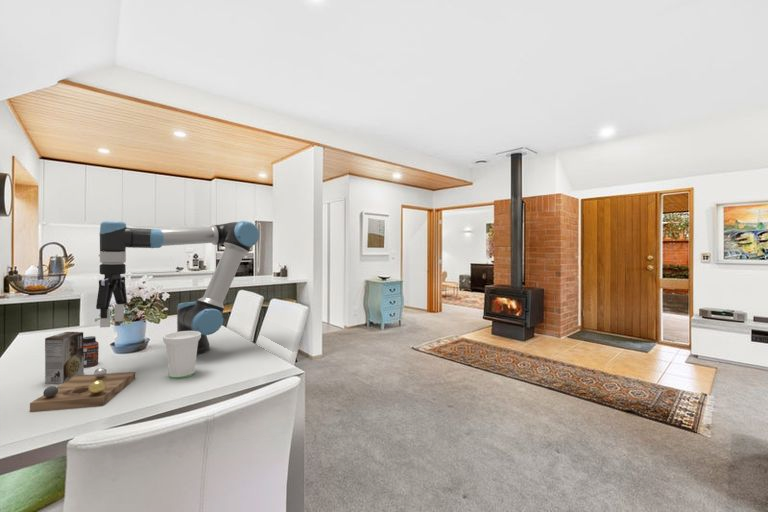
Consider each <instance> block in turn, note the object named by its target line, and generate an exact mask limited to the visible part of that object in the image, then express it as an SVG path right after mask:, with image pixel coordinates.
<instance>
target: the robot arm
mask: <svg viewBox="0 0 768 512" xmlns="http://www.w3.org/2000/svg"><path fill="white" fill-rule="evenodd" d="M99 228H100V229H99V233H98V234H99V254H98V257H99V262H100V263H101V264H100V265H99V274H100V275H104V277H103V279H99V280H98V290H97V291H98V293H97V296H96V297H97V298H96V305H95V306H96V310H99V328H111V308H110V304H111V301H112V296H113V297H114V301H115V304H114V322H124V321H125V320H124V319H125V311H124V310H125V309H124V308H125V305H127V304H128V298H127V297H128V296H127V289H126V277H125V276H122V275H124V274H126V269H127V268H126V267H127V266H126V264H125V263H126V261H127V252H126V250H127V248H132V249H139V248H141V249H159V248H162V247H165V246H166V247H167V246H181V245H183V246H184V245H200V244H201V245H203V244H212V245H214V246H217V245H222V246H224V249H223V253H222V254H221V256H220V258H219V262H218V263H217V266H216V268H215V270H214V272H213V274H212V277H211V278H210V281H209V283H208V286H207V287H206V289H205V292H204V294H203V296H202V297H200V298H197V301H188V302H187V301H186V302H181V303H180V302H179V303H178V304H177V309H176V312H177V313H176V314H177V315H176V318H177V319H176V320H177V321H176V322H177V323H176V326H177V327H176V328H177V329H176V330H177V331H176V332H181V331H198V332H200V333H201V338H200V339H199V341H198V347H197V355H199V354H203V353H206V352H209V350H210V349H211V348H210V347H211V346H210V341H209V338H208V336H209V335H212V334H215V333H216V332H218V331H219V330H220V329H221V327H222V326H223V322H224V317H223V312H224V311H225V306H224V301H225V299H226V297H227V294H228V293H229V289H230V288H231V286H232V283H233V281H234V278H235V276H236V274H237V271H238V269H239V267H240V264H241V262H242V261H243V257H244V256H245V255H247V254H249V253H250V251H251V248H252V246H255V245H256V244H258V242H259V239H260V231H259V229H258V227H257V226H256V225H255V224H254V223H253V222H251V221H247V220H243V221H242V220H241V221H237V222H236V221H233V222H227V223H222V224H212V225H211V226H208V227H207V226H206V227H205V226H204V227H202V226H200V227H178V228H177V227H175V228H172V227H171V228H138V227H136V228H135V227H128V226H127V223H126V222H124V221H115V220H114V221H111V220H110V221H109V220H106V221H102V222H101V223H100V227H99Z"/></svg>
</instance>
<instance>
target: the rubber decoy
mask: <svg viewBox="0 0 768 512" xmlns="http://www.w3.org/2000/svg"><path fill="white" fill-rule="evenodd" d="M57 387H58V386H54V385H50V386H47V387H46V388H45V389H44V390H43V395H44V396H45V397H53V396H55V395H56V394H57V393H58V388H57Z"/></svg>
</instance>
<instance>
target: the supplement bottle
mask: <svg viewBox="0 0 768 512" xmlns="http://www.w3.org/2000/svg"><path fill="white" fill-rule="evenodd" d="M96 339H97V337H96V336H93V335H91V336H83V349H84V350H83V351H84V368H89V367H94V366H96V365H98V364H99V348H100V347H99V345H100V344H99V342H98V341H97V340H96Z"/></svg>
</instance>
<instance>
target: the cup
mask: <svg viewBox="0 0 768 512" xmlns="http://www.w3.org/2000/svg"><path fill="white" fill-rule="evenodd" d="M200 338H201V333H200V332H198V331H181V332H177V331H175V332H174V331H173V332H169V333H167V334H164V335H163V337H162V340H163V341H162V342H163V343H164V344H165V349H166V357H167V365H168V373H169V374H168V376H169V379H172V380H174V379H175V380H178V379H180V380H181V379H184V378H185V379H186V378H189V377H192V376H193V375H195V373H196V369H195V368H196V361H197V355H198V354H197V347H198V341H199V339H200Z"/></svg>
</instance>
